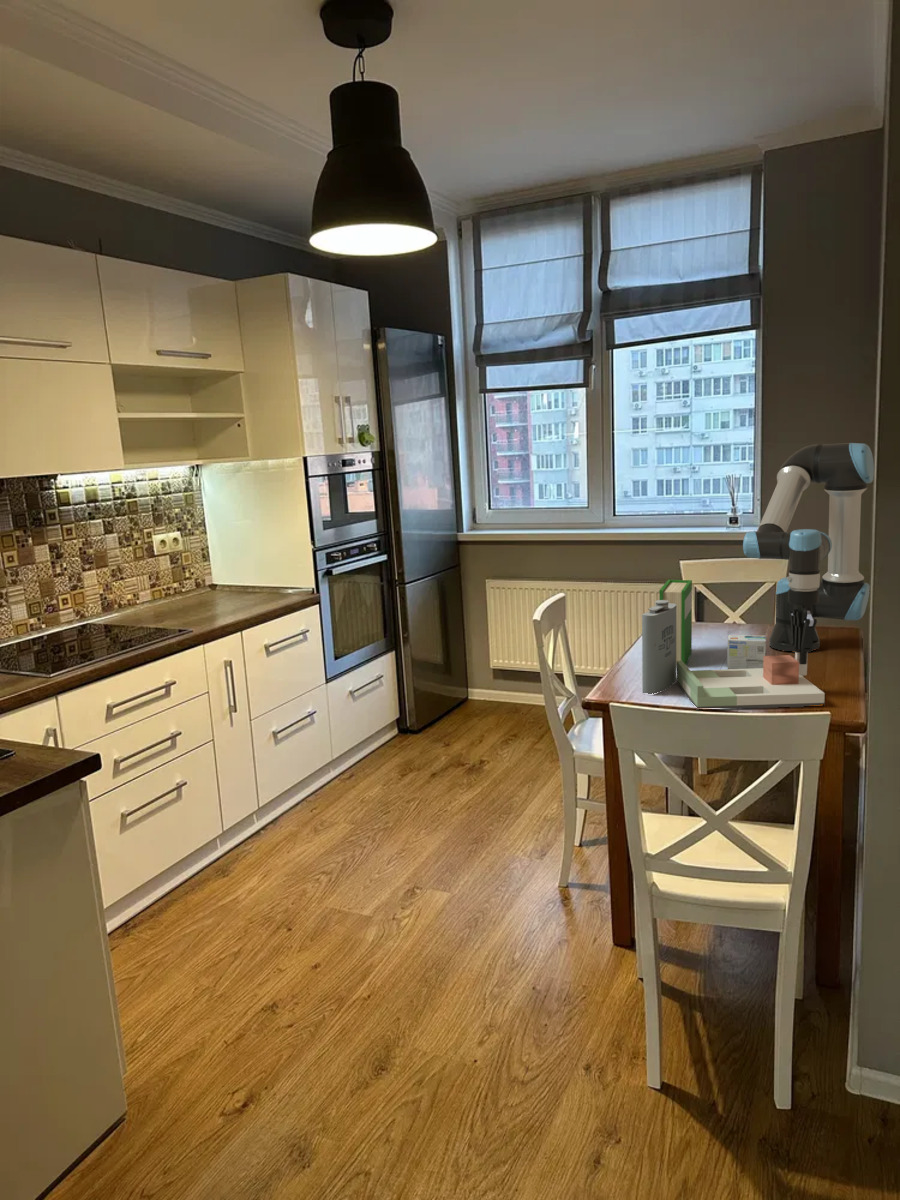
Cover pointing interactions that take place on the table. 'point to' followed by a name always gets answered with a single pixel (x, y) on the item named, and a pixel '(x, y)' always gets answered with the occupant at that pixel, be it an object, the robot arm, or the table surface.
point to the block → (781, 669)
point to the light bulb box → (746, 651)
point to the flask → (659, 647)
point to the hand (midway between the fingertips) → (800, 674)
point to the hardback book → (680, 614)
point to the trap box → (743, 689)
